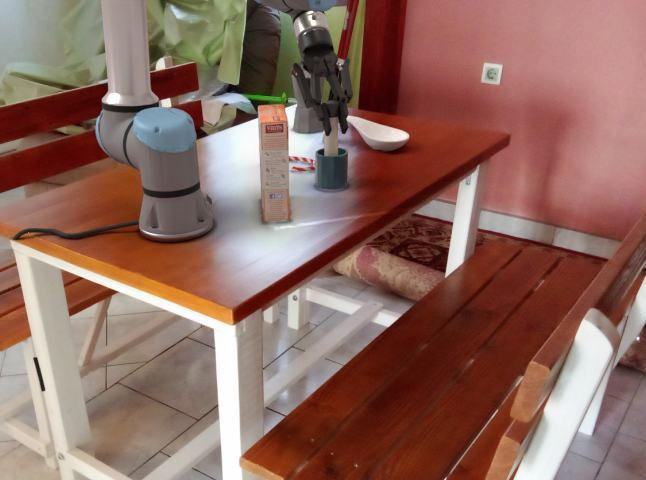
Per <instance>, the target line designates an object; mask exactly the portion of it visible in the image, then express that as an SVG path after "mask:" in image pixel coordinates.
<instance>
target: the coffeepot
mask: <svg viewBox="0 0 646 480" xmlns="http://www.w3.org/2000/svg"><path fill="white" fill-rule="evenodd" d="M303 72H304V74H305V77H306V80H307V83H308V86H309V89H310V92H311V95H312V98H313V91H312V83H311V75H310V74H309V73H308V72H307V71H306V70H303ZM325 80H326V78H325V77H320V89H321V100H322V99H323V95H324V87H325ZM291 82H292V87H293V88H292V89H293V93H294V100H295V101H296V107H295V112H294V117H293V118H294V119H293V125H292V129H293V131H294V132H296V133H299V134H317V133H320V132H322V131H324V127H323V123H322V121H318V119H317V115H316V111H314V110H313V107H309V108H307V107H306V106H305V103H304V100H303V97H302V94H301V91H300V88H299V85H298V82H297V79H296V78H295V77H294V75H293V74H291Z"/></svg>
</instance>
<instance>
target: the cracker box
mask: <svg viewBox="0 0 646 480" xmlns="http://www.w3.org/2000/svg"><path fill="white" fill-rule="evenodd" d="M286 111H287V110H286V106H285V104H283V103H273V104H261V105H257V125H258V150H259V154H258V155H259V174H260V175H259V176H260V177H259V179H260V200H261V209H262V212H261V213H262V219H263V220H262V221H263V222H264V223H266V222H272V221H273V222H274V221H288V220H291V210H290V208H291V207H290V206H291V205H290V204H291V202H290V161H289V156H290V154H289V153H290V151H289V150H290V149H289V148H290V147H289V146H290V145H289V144H290V143H289V141H290V140H289V119H288V115H287V112H286Z"/></svg>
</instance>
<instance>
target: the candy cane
mask: <svg viewBox="0 0 646 480" xmlns="http://www.w3.org/2000/svg"><path fill="white" fill-rule="evenodd" d="M295 161H296V162H305V163H309V164H311V166H305V167H303V166H302V167H299V166H292V167H291V170H292V171H296V172H311V171H314V170H315V159H313V158H309V157H303V156H295V155H289V162H295Z"/></svg>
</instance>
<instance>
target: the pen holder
mask: <svg viewBox="0 0 646 480" xmlns="http://www.w3.org/2000/svg"><path fill="white" fill-rule="evenodd" d="M324 152H325V147H323V148H320V149H319V148H318V149H317V150H316V151H315V152H314V160H315V172H314V173H315V174H314V175H315V177H314V178H315V187H317V188H319V189H323V190H338V189H342V188H345V187H347V186H348V182H349V150H348V149H347V148H344V147H339V146H338V156H324Z"/></svg>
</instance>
